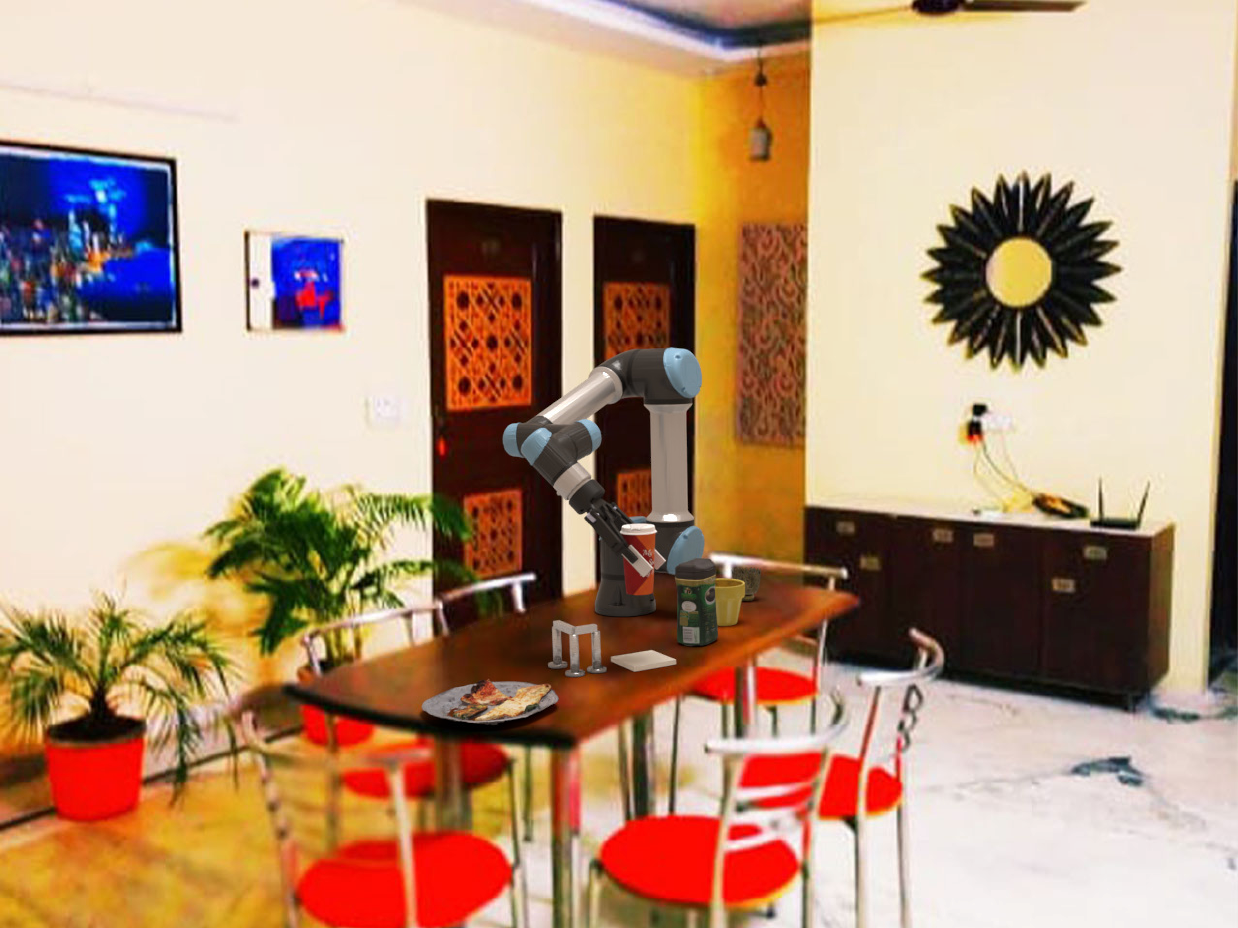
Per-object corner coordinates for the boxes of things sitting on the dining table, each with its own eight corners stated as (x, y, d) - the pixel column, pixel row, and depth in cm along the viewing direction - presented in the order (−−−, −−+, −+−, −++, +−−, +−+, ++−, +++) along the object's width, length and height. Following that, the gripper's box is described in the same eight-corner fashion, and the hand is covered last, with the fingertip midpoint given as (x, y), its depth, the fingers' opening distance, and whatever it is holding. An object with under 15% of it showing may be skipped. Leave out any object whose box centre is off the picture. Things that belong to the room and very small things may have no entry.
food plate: (481, 684, 258) (480, 667, 257) (580, 700, 246) (580, 682, 246) (399, 722, 236) (398, 704, 236) (504, 741, 225) (504, 721, 224)
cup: (741, 596, 336) (741, 565, 335) (766, 598, 332) (766, 568, 331) (726, 601, 330) (726, 570, 329) (752, 604, 326) (751, 572, 325)
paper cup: (654, 596, 265) (653, 528, 264) (617, 595, 267) (616, 528, 265) (661, 589, 273) (659, 523, 271) (625, 588, 274) (623, 522, 273)
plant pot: (753, 625, 303) (752, 583, 302) (712, 629, 300) (711, 588, 299) (734, 616, 313) (733, 576, 312) (694, 620, 309) (693, 580, 308)
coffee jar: (691, 635, 295) (689, 554, 293) (722, 638, 291) (721, 557, 289) (670, 644, 287) (668, 561, 285) (702, 648, 283) (700, 564, 281)
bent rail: (544, 665, 272) (543, 620, 271) (583, 659, 276) (581, 614, 275) (570, 678, 261) (569, 630, 260) (610, 671, 266) (608, 624, 265)
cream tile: (610, 661, 274) (610, 656, 274) (651, 654, 278) (651, 649, 278) (634, 671, 265) (634, 666, 265) (676, 664, 270) (676, 659, 270)
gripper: (586, 496, 283) (658, 572, 279) (549, 508, 264) (626, 590, 260) (608, 472, 281) (681, 548, 277) (572, 483, 261) (650, 565, 257)
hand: (654, 568), depth 268 cm, fingers closed on paper cup, 8 cm apart
